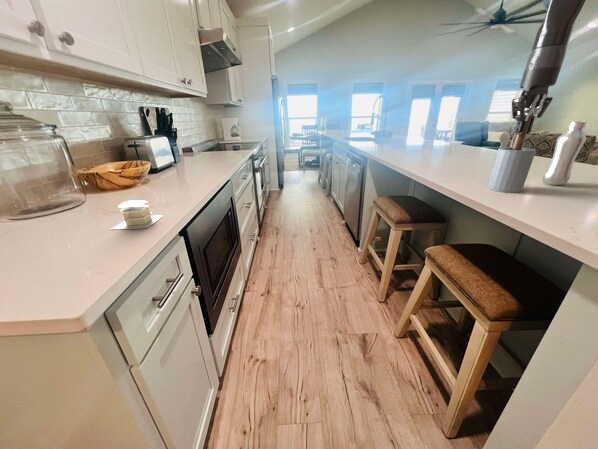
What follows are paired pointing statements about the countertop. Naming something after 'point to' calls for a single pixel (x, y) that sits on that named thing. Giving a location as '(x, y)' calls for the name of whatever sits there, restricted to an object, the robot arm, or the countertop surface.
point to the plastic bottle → (565, 154)
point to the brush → (521, 137)
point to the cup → (511, 169)
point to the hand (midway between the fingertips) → (521, 133)
